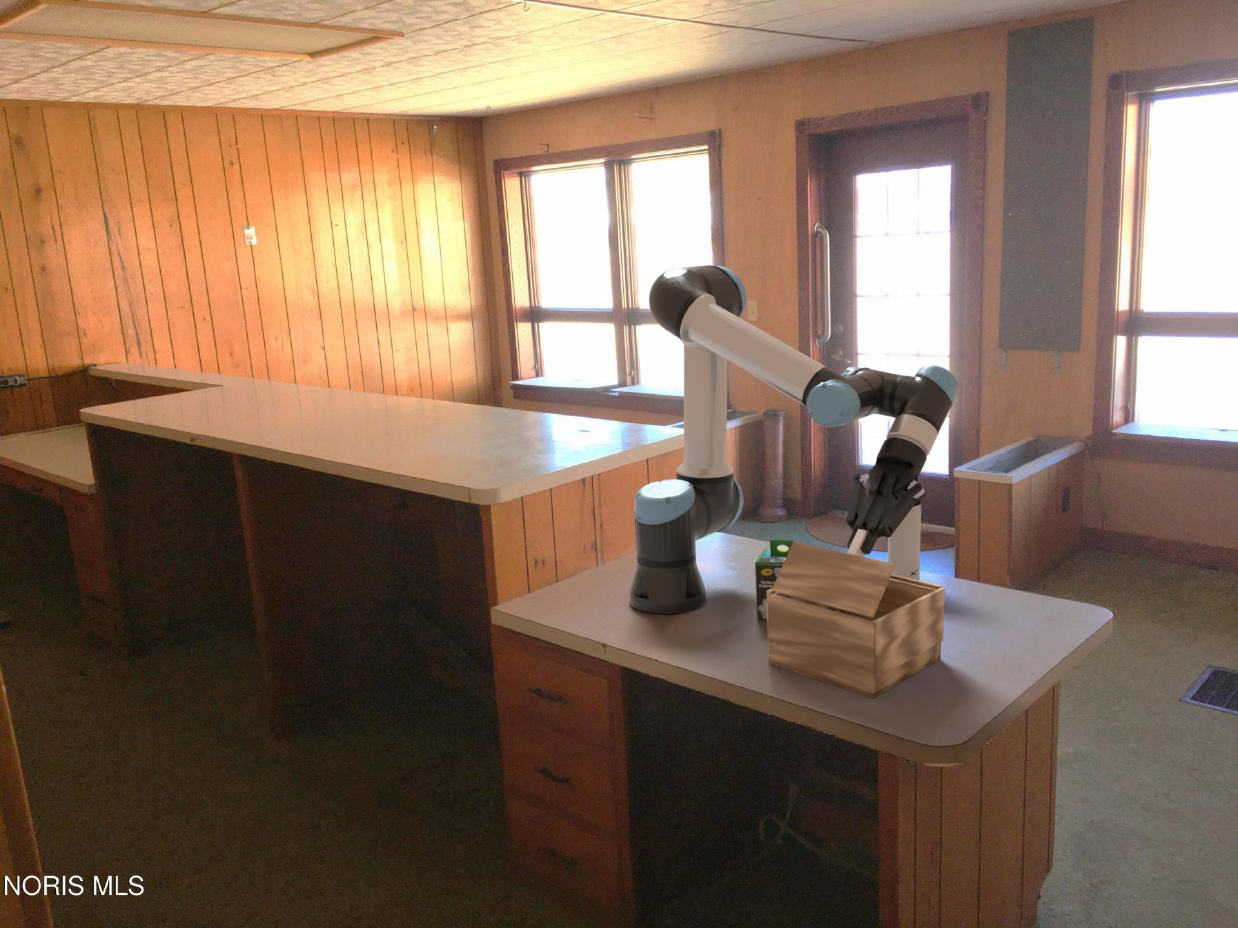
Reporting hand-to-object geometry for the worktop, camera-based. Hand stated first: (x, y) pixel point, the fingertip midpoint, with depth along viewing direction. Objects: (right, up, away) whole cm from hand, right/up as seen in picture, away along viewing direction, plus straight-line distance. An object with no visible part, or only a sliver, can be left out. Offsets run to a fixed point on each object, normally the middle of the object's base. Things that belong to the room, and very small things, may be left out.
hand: (849, 568), depth 160 cm
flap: (-5, -5, -3) cm, 8 cm away
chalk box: (-6, -12, +29) cm, 32 cm away
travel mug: (+21, -8, +43) cm, 49 cm away
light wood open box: (+2, -16, +6) cm, 17 cm away
